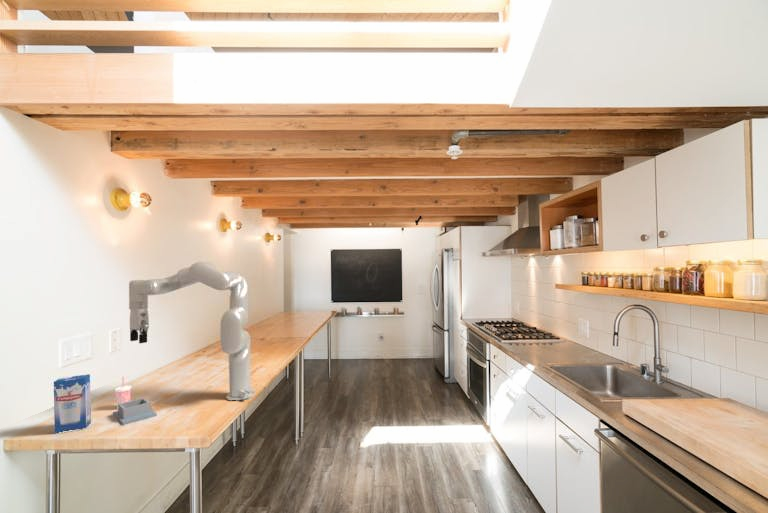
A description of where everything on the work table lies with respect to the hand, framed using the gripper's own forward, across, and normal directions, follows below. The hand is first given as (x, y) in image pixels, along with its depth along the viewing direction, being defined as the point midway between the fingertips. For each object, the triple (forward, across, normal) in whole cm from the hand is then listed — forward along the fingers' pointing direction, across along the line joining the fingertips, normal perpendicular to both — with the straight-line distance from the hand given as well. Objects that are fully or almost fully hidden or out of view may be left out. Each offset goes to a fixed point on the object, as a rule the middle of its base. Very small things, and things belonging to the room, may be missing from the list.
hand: (138, 341), depth 179 cm
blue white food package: (+29, -11, +28) cm, 41 cm away
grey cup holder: (+28, -18, +8) cm, 34 cm away
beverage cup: (+29, -3, +7) cm, 30 cm away
